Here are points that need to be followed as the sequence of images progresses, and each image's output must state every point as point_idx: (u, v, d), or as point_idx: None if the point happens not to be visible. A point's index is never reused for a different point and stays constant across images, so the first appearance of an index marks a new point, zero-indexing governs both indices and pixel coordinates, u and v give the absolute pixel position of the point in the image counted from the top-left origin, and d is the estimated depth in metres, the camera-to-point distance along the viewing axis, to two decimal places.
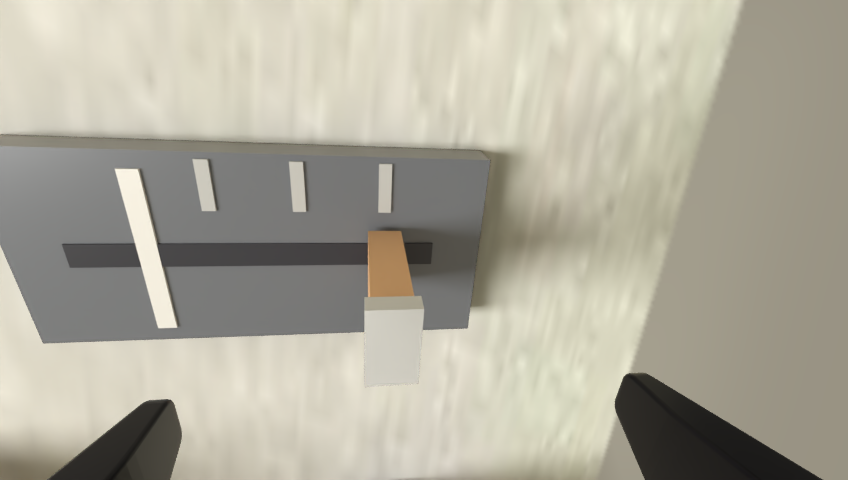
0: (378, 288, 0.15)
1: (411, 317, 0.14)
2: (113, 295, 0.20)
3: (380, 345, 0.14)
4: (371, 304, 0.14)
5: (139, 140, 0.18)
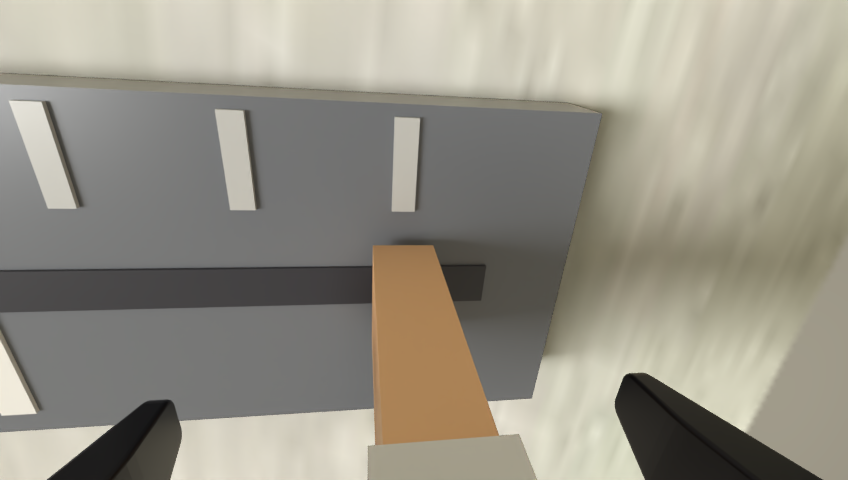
0: (402, 401, 0.06)
1: None
2: None
3: None
4: (387, 478, 0.05)
5: None
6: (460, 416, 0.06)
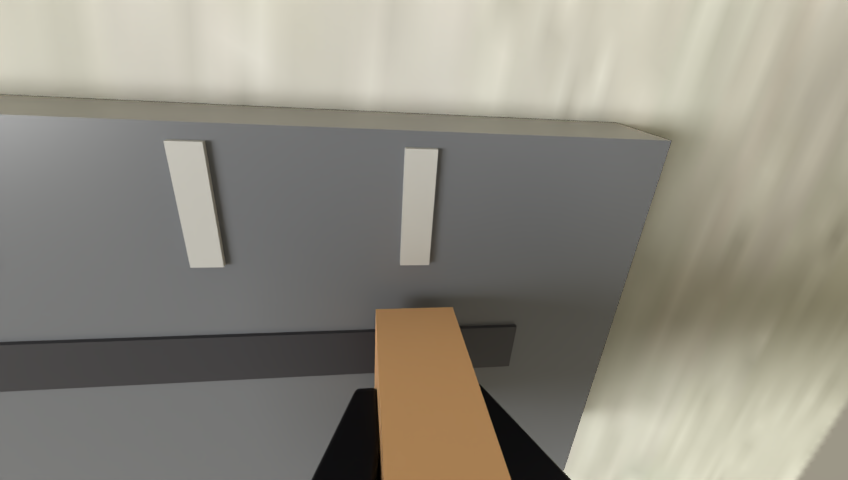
0: None
1: None
2: None
3: None
4: None
5: None
6: None
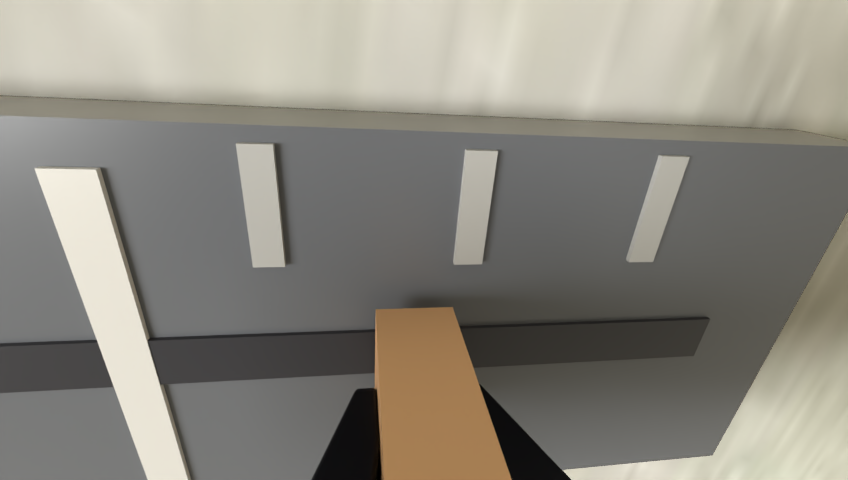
0: None
1: None
2: (54, 441, 0.09)
3: None
4: None
5: (105, 102, 0.08)
6: None
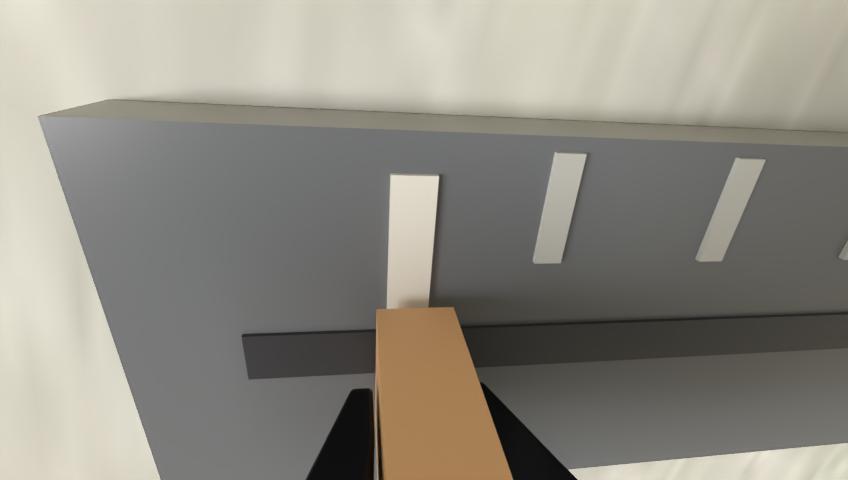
0: None
1: None
2: (315, 422, 0.10)
3: None
4: None
5: (400, 114, 0.09)
6: None
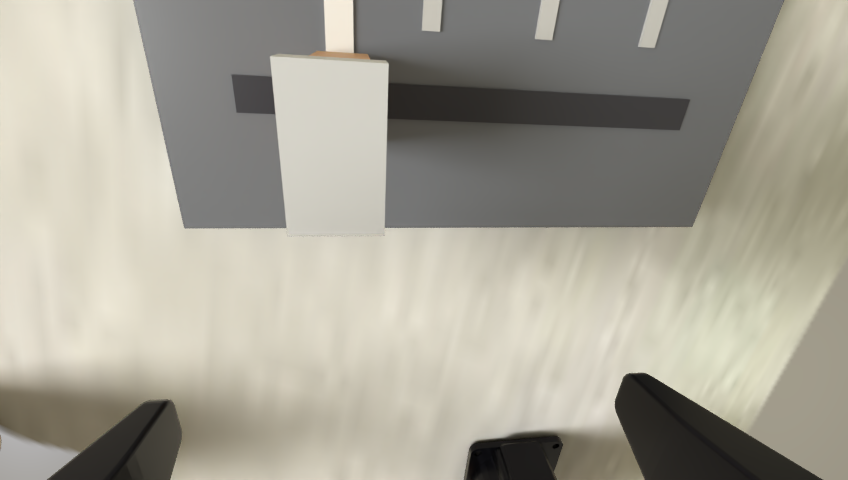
0: None
1: (364, 83, 0.07)
2: None
3: (309, 145, 0.08)
4: (286, 55, 0.07)
5: None
6: None
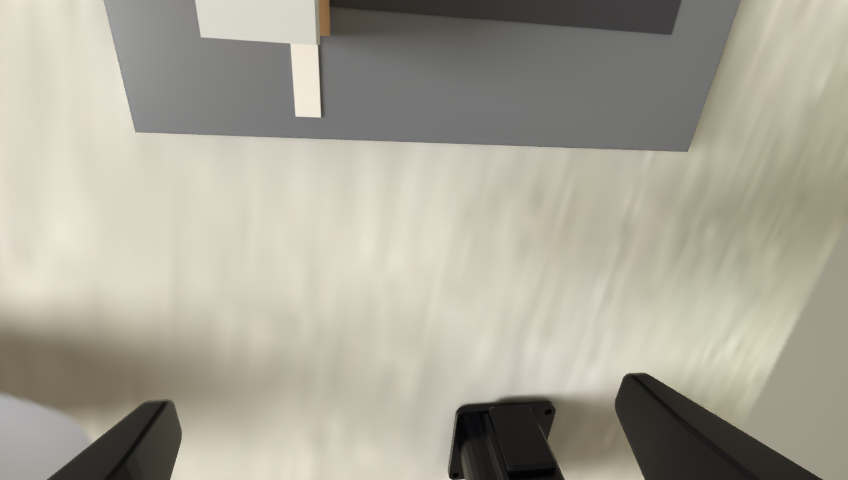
0: None
1: None
2: (240, 53, 0.14)
3: None
4: None
5: None
6: None
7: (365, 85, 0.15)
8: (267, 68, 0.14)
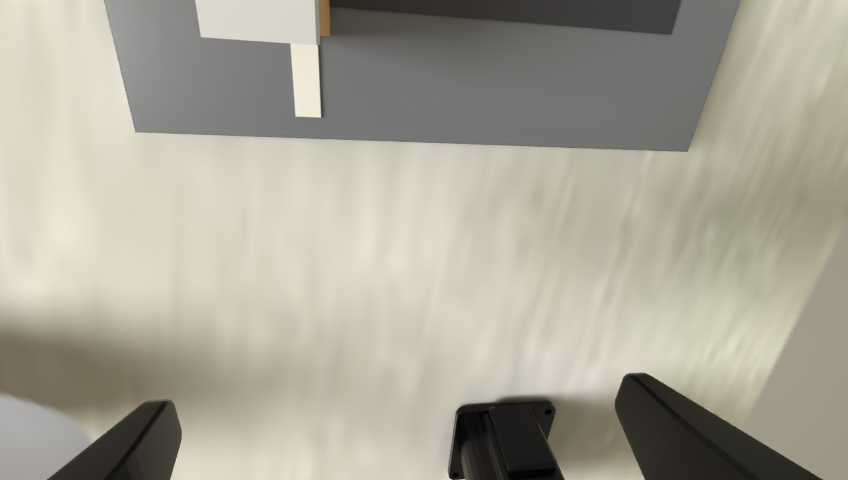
0: None
1: None
2: (240, 53, 0.14)
3: None
4: None
5: None
6: None
7: (365, 85, 0.15)
8: (267, 68, 0.14)
